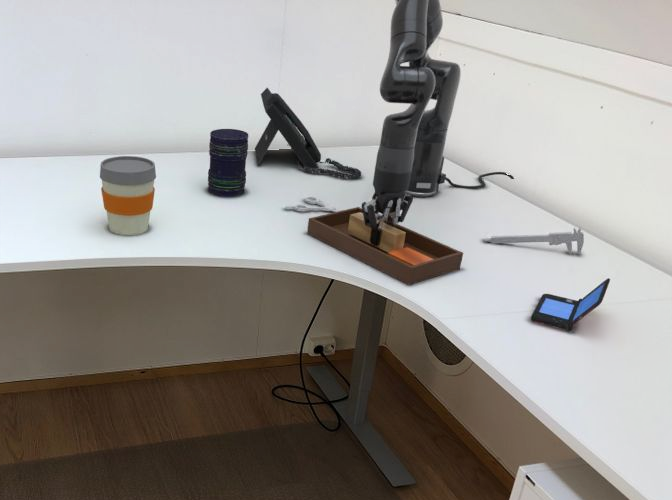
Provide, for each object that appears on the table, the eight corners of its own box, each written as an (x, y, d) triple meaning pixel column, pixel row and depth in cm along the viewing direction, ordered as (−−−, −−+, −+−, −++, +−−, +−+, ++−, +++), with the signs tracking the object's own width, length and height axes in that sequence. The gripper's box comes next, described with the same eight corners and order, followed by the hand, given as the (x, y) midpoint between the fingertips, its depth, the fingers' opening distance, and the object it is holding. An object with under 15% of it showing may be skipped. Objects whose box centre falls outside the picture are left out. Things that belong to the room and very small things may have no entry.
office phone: (362, 180, 218) (373, 106, 208) (260, 177, 218) (265, 102, 207) (346, 150, 243) (355, 82, 233) (254, 146, 243) (259, 78, 233)
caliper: (579, 254, 178) (587, 227, 175) (579, 256, 177) (587, 229, 174) (484, 241, 183) (490, 215, 180) (484, 242, 182) (490, 216, 179)
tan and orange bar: (361, 229, 183) (364, 211, 181) (435, 263, 168) (439, 243, 165) (342, 234, 180) (345, 215, 178) (415, 269, 165) (419, 249, 162)
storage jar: (201, 193, 205) (203, 135, 197) (214, 182, 213) (217, 126, 205) (237, 199, 202) (241, 141, 194) (250, 188, 209) (254, 131, 202)
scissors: (302, 194, 204) (377, 209, 196) (302, 197, 204) (376, 212, 196) (285, 206, 196) (362, 222, 188) (285, 209, 196) (361, 225, 188)
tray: (356, 221, 191) (358, 206, 189) (459, 269, 169) (463, 252, 167) (306, 233, 183) (308, 218, 181) (408, 285, 161) (411, 268, 159)
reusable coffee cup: (131, 214, 191) (130, 152, 183) (166, 229, 183) (167, 165, 175) (90, 226, 183) (87, 162, 175) (125, 242, 175) (124, 176, 168)
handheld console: (541, 297, 158) (551, 263, 154) (599, 311, 153) (611, 277, 149) (528, 321, 149) (538, 286, 145) (589, 338, 144) (602, 301, 140)
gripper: (382, 176, 160) (370, 255, 169) (430, 166, 167) (415, 242, 176) (356, 166, 165) (345, 243, 174) (404, 156, 172) (391, 231, 181)
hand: (381, 242), depth 175 cm, fingers closed on tan and orange bar, 3 cm apart
